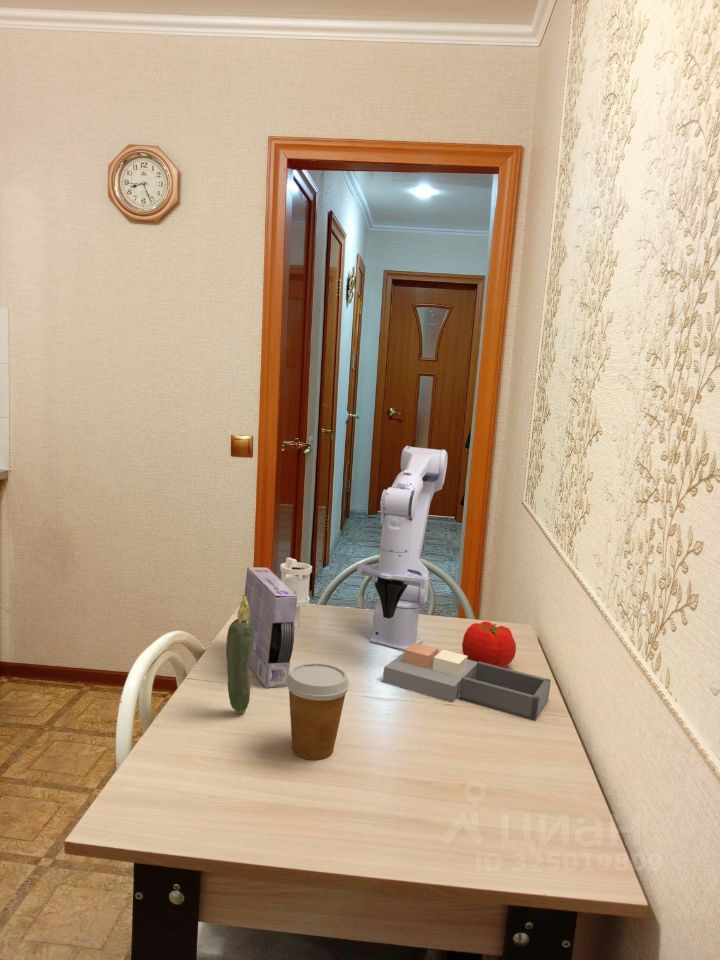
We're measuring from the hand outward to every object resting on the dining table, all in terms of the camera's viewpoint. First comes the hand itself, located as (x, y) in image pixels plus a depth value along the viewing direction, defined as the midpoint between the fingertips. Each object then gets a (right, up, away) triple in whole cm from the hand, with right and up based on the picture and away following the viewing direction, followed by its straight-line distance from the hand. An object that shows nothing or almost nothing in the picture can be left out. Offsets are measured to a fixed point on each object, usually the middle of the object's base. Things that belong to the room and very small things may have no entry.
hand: (388, 616), depth 140 cm
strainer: (-21, -6, +21) cm, 30 cm away
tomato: (+21, -12, +7) cm, 25 cm away
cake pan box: (-24, -9, -4) cm, 26 cm away
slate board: (+8, -12, -3) cm, 14 cm away
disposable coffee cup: (-13, -14, -32) cm, 37 cm away
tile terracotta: (+6, -8, -2) cm, 10 cm away
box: (+21, -14, -9) cm, 27 cm away
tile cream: (+11, -9, -5) cm, 15 cm away
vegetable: (-26, -12, -23) cm, 37 cm away
